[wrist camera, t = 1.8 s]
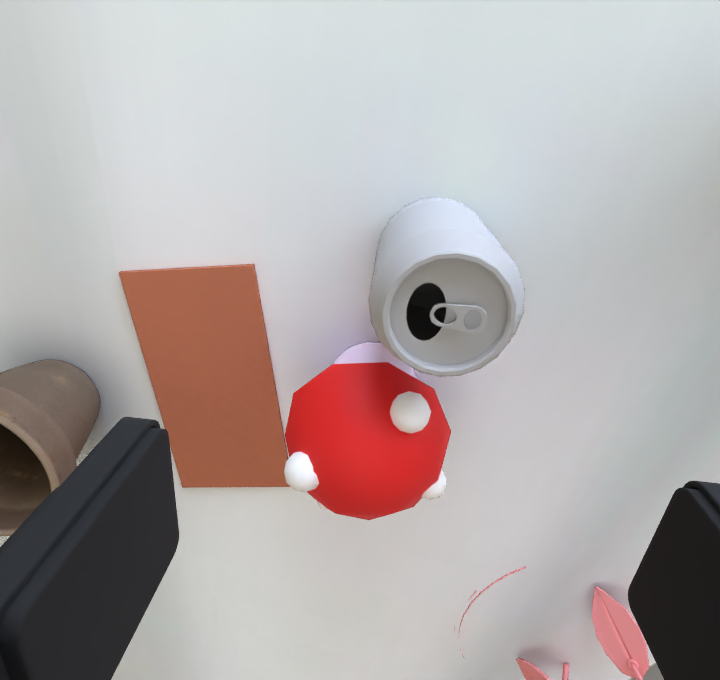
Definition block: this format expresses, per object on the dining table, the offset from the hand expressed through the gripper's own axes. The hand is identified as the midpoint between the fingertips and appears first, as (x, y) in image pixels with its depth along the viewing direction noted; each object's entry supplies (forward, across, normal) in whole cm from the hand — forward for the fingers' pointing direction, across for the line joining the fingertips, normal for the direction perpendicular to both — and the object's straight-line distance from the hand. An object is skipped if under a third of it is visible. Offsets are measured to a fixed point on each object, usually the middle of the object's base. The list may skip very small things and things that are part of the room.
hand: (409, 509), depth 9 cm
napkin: (+26, +13, +14) cm, 32 cm away
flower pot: (+26, +26, +16) cm, 40 cm away
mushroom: (+26, +1, +12) cm, 28 cm away
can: (+26, -2, +1) cm, 26 cm away
